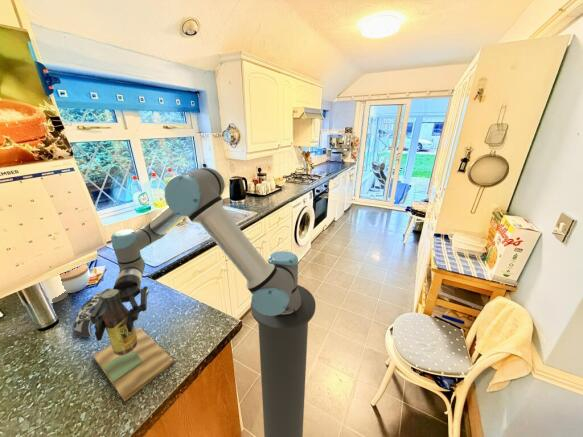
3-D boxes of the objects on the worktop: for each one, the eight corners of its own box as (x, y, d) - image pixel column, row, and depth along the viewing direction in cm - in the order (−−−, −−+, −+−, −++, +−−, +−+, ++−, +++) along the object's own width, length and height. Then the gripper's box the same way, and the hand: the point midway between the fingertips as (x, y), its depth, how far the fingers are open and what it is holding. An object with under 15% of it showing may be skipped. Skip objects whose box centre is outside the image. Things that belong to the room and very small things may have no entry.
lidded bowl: (78, 297, 102) (69, 275, 98) (49, 296, 102) (39, 275, 98) (100, 279, 114) (93, 260, 110) (74, 279, 114) (66, 259, 110)
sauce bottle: (131, 356, 69) (112, 302, 61) (109, 356, 68) (88, 302, 61) (143, 337, 75) (127, 286, 67) (123, 338, 75) (105, 286, 67)
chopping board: (173, 362, 75) (172, 358, 74) (124, 402, 64) (123, 397, 63) (140, 330, 86) (139, 326, 86) (94, 358, 75) (93, 355, 75)
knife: (91, 334, 83) (55, 340, 79) (92, 338, 83) (56, 344, 80) (119, 286, 108) (92, 289, 105) (119, 289, 108) (93, 292, 105)
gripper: (160, 285, 88) (156, 331, 68) (97, 299, 80) (73, 355, 61) (156, 268, 85) (151, 311, 66) (91, 281, 78) (63, 334, 58)
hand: (113, 332), depth 63 cm, fingers closed on sauce bottle, 6 cm apart
